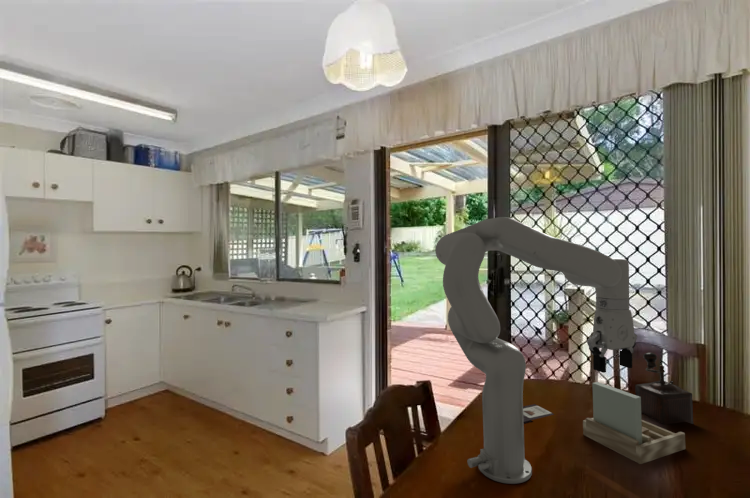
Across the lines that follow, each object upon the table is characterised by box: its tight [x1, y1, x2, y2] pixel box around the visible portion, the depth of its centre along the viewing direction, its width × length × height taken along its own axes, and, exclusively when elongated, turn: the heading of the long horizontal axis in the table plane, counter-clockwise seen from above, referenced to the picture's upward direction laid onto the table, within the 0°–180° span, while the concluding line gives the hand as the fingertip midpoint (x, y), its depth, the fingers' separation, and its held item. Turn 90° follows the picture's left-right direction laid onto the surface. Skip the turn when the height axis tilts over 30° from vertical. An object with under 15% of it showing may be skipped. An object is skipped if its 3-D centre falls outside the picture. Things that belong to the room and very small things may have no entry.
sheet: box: [591, 381, 642, 445], centre depth 100 cm, size 2×12×15 cm, turn 21°
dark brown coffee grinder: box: [634, 352, 695, 425], centre depth 120 cm, size 16×11×18 cm
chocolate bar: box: [523, 403, 555, 424], centre depth 122 cm, size 9×1×18 cm
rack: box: [582, 417, 686, 465], centre depth 102 cm, size 17×16×6 cm
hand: (612, 368), depth 100 cm, fingers open, 9 cm apart
